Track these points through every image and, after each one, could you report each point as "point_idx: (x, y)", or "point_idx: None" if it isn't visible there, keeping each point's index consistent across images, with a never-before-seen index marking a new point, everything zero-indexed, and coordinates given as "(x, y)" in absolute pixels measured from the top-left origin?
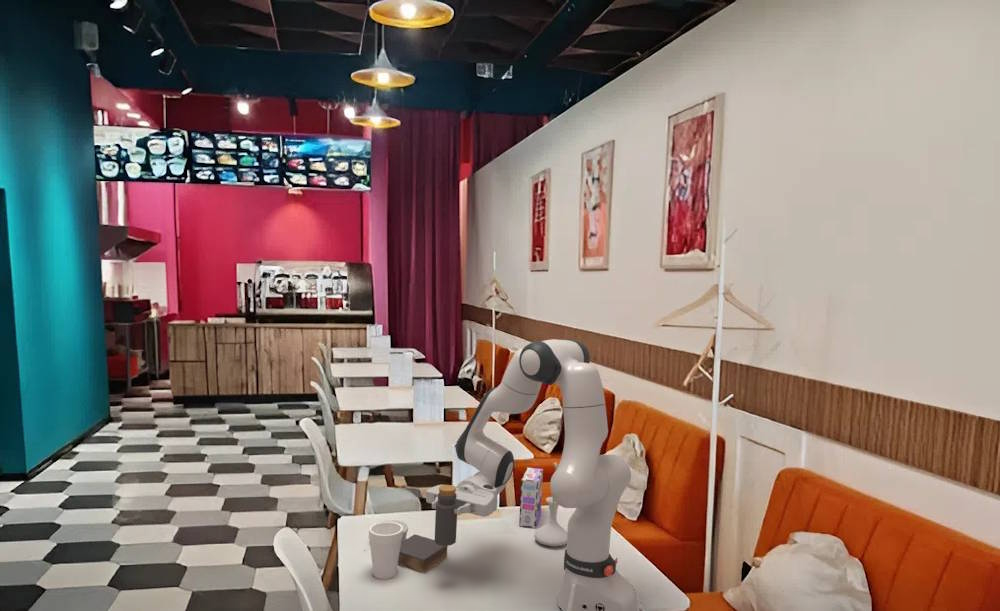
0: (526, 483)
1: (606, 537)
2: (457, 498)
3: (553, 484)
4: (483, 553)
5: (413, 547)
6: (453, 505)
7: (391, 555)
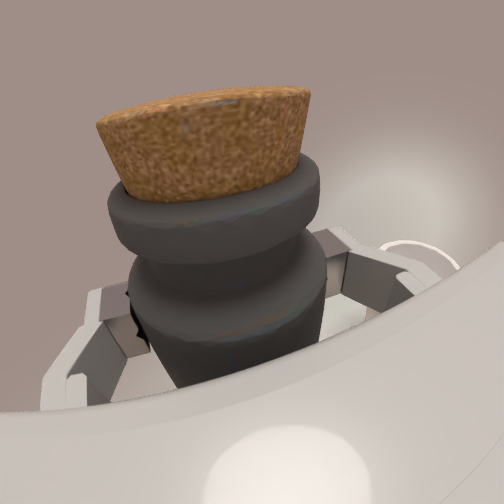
0: None
1: None
2: (229, 374)
3: None
4: None
5: None
6: (136, 262)
7: (367, 319)
